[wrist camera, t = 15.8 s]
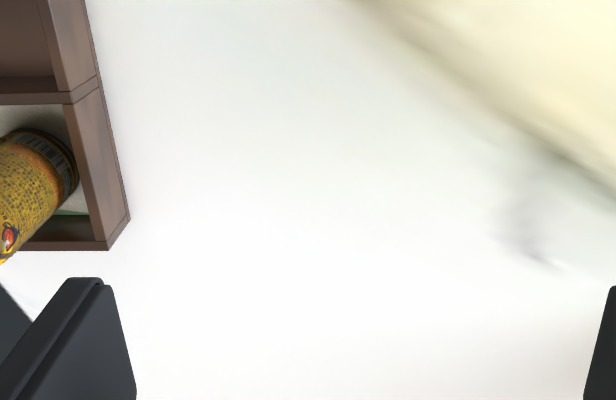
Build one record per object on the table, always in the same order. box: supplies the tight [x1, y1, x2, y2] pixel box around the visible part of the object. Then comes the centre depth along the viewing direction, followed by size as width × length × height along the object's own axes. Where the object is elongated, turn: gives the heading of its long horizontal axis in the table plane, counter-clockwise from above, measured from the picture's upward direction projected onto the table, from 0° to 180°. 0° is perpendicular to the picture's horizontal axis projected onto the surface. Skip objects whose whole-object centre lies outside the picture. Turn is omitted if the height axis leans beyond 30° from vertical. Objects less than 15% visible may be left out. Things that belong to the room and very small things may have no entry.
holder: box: [0, 0, 130, 251], centre depth 36 cm, size 22×11×4 cm, turn 2°
